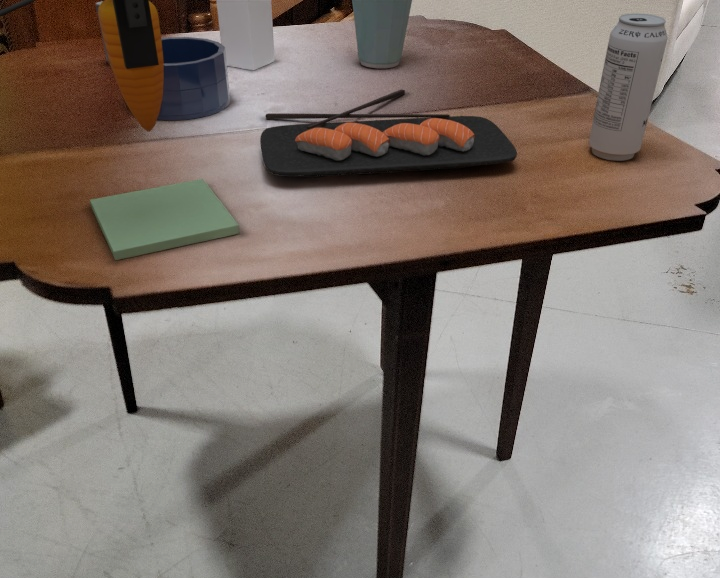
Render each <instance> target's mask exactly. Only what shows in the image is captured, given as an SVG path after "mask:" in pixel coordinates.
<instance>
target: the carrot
mask: <svg viewBox="0 0 720 578" xmlns="http://www.w3.org/2000/svg"><path fill="white" fill-rule="evenodd" d="M149 6H150V12H151V18H152V25H153V31H154V37H155V43H156V50H157V56H158V62H159V65H155V66H147V67H139V68H131V69H126V67H125V64H124V58H123V53H122V48H121V42H120V37H119V32H118V26H117V21H116V16H115V10H114V5H113V0H104V1H103V2H102V3H101V4H100V6H99V7H98V14H97V17H98V16H99V19H98V22H99V21H100V24H99V26H100V25H101V28H100V31H101V30H102V34H103V38H102V40H103V39H104V43H105V47H106V51H107V54H108V58H109V62H110V65H109V66H110V68H111V71H112V73H113V76H114V80H115V82H116V84H117V87H118V89H119V92H120V94H121V96H122V99H123V100H124V102H125V104H126V105H127V107H128V109H129V111H130V113H131V114H132V115H133V117H134V118H135V119H136V120H135V121H136V122H137V123H138V124H139V125H140V127H141V128H142V129H143V130H145V131H146V132H147V133H149V132H152V130H153V129H154V128H155V126H156V123H157V118H158V115H159V112H160V107H161V102H162V97H163V79H164V61H163V51H162V41H161V38H162V34H161V33H162V32H161V27H160V26H161V25H160V18H159V13H158V9H157V8H156V6H155V4H153V3H152V2H151V1H150V0H149ZM102 34H101V35H102Z"/></svg>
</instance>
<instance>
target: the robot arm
mask: <svg viewBox="0 0 720 578" xmlns="http://www.w3.org/2000/svg"><path fill="white" fill-rule="evenodd" d="M36 1H37V0H21V1H19V2H17V3H14V4H13V5H10V6H8V7H5V8H2V9H1V10H0V18H2V17H3V16H5V15H7V14H10V13H12V12H14V11H16V10H19V9H20V8H23V7H26V6H27V5H29V4H32V3H34V2H36ZM101 1H104V0H101ZM149 1H150V0H113V5H114V10H115V16H116V21H117V26H118V32H119V37H120V42H121V48H122V53H123V58H124V64H125V67H126V69H131V68H139V67H147V66H155V65H159V62H158V56H157V50H156V43H155V37H154V31H153V25H152V18H151V12H150V6H149Z"/></svg>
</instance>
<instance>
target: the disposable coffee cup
mask: <svg viewBox="0 0 720 578" xmlns="http://www.w3.org/2000/svg"><path fill="white" fill-rule="evenodd" d="M351 3H352V12H353V20H354V29H355V38H356V47H357V55H358V60H359V63H360V65H362V66H363V67H366V68H371V69H391V68H395V67H397V66H399V65H400V61H401V60H402V57H403V56H402V55H403V51H404V45H405V40H406V35H407V29H408V24H409V19H410V13H411V8H412V3H413V0H351Z"/></svg>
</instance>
